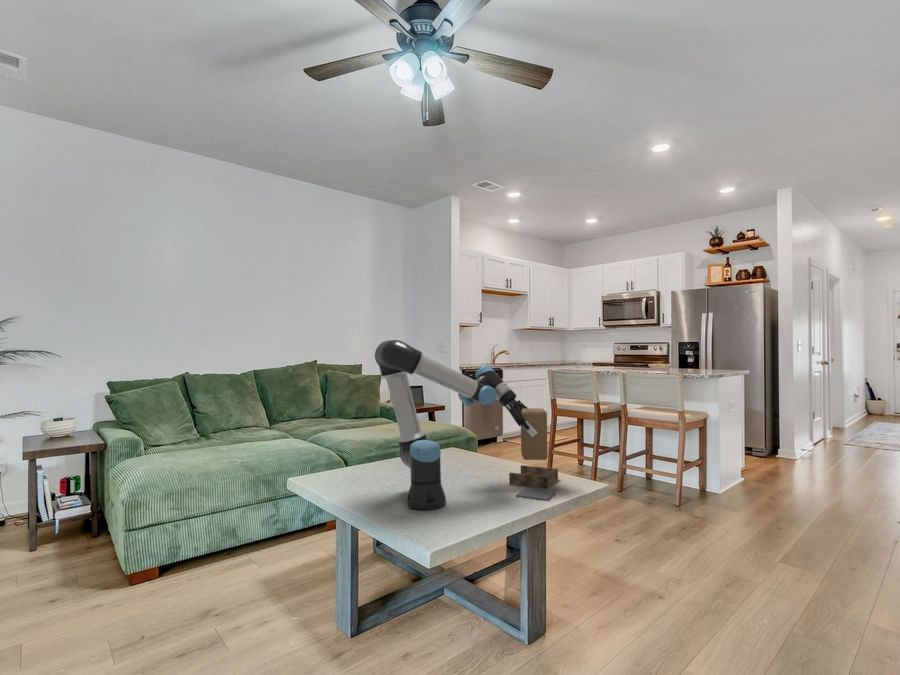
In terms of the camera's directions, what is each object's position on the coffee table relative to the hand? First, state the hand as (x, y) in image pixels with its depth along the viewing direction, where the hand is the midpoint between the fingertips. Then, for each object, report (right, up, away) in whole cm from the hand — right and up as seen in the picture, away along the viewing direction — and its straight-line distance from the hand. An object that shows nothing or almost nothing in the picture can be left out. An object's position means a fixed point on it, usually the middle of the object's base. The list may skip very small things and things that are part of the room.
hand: (539, 432), depth 197 cm
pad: (-2, -24, -7) cm, 25 cm away
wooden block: (-2, -11, +1) cm, 11 cm away
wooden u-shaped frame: (0, -24, +10) cm, 26 cm away
